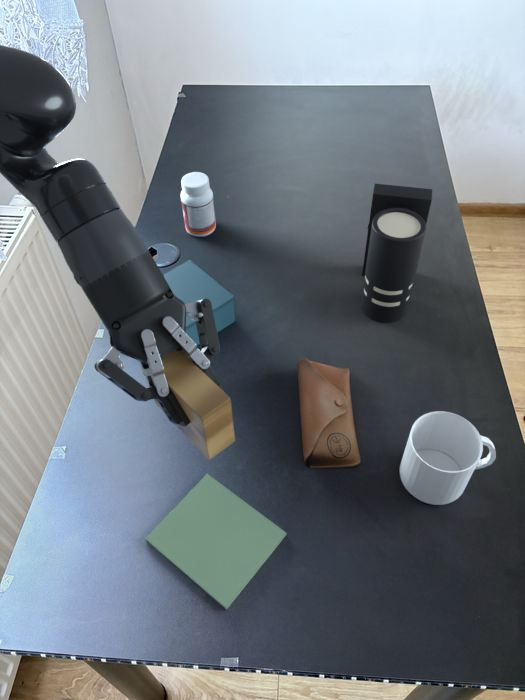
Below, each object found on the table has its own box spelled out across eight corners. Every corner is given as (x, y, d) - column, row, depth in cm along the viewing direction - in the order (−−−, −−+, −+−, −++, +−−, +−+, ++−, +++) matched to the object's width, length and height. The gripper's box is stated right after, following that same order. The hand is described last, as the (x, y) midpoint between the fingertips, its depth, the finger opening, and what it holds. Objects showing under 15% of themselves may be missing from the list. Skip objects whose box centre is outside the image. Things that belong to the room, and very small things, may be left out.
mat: (226, 610, 72) (226, 608, 72) (145, 540, 78) (145, 538, 78) (286, 534, 78) (286, 532, 78) (207, 475, 84) (207, 473, 83)
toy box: (237, 321, 103) (234, 296, 98) (178, 359, 98) (173, 334, 93) (193, 284, 109) (189, 259, 104) (136, 318, 104) (130, 293, 99)
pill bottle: (187, 218, 121) (180, 169, 113) (217, 218, 121) (212, 169, 112) (183, 237, 117) (175, 189, 109) (214, 238, 117) (209, 189, 108)
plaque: (235, 441, 64) (230, 397, 58) (209, 460, 63) (201, 418, 57) (180, 386, 69) (170, 341, 63) (155, 403, 68) (142, 358, 62)
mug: (399, 502, 80) (411, 468, 73) (398, 444, 86) (408, 408, 79) (491, 511, 79) (512, 478, 72) (483, 452, 85) (502, 416, 78)
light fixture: (353, 318, 102) (364, 236, 89) (362, 265, 111) (372, 183, 97) (411, 326, 101) (431, 244, 87) (415, 271, 109) (434, 189, 96)
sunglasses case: (365, 465, 84) (344, 444, 79) (320, 479, 86) (298, 460, 82) (349, 365, 95) (330, 342, 91) (310, 380, 98) (290, 359, 94)
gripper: (55, 296, 53) (156, 456, 56) (184, 227, 58) (269, 375, 62) (44, 307, 59) (135, 449, 63) (161, 243, 65) (239, 376, 68)
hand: (201, 411), depth 62 cm, fingers closed on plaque, 3 cm apart
